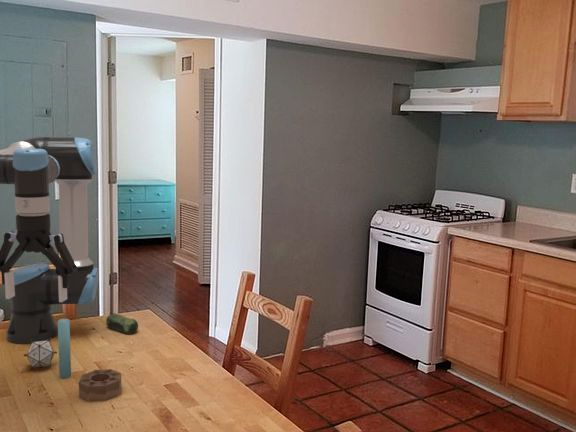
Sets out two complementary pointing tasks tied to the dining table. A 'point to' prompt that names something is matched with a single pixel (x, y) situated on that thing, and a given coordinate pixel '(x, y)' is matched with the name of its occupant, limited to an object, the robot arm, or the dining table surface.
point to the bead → (100, 385)
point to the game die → (40, 353)
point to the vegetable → (122, 323)
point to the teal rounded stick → (64, 348)
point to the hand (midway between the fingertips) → (36, 299)
